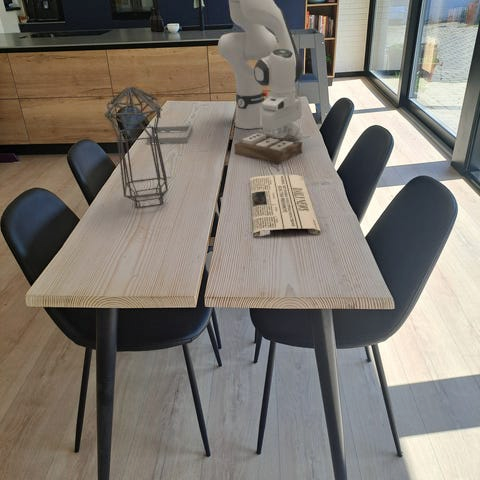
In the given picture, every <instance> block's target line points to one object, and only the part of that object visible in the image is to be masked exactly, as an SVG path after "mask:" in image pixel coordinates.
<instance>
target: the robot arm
mask: <svg viewBox="0 0 480 480" xmlns="http://www.w3.org/2000/svg"><path fill="white" fill-rule="evenodd" d="M228 6H229V12H230V13H229V14H230V18H231V20H232V22H233V23H234V24H235V25H236V26H239V27H240V28H241V29H242V30H243V32H239V31H238V32H229V33H225V34H222V35H221V36H220V38H219V39H218V44H217V50H218V53H219V55H220V57H221V58H222V59H223V60H225V61H226V62H227V63H228V64H229V65H230V68H231V69H232V71H233V74H234V76H235V77H234V78H235V86H236V93H235V100H236V103H237V104H236V105H235V118H234V120H233V121H234V126H235V127H236V128H239V129H243V130H244V129H246V130H249V129H250V130H252V129H263V131H264V132H268V133H273V132H275V131H276V132H278V133H279V134H278V133H277V134H278V138H283V137H285V136H287V131H288V128H289V124H290V123H292V122H294V121H295V122H296V121H297V120H300V119H301V117H302V115H303V114H302V113H303V112H302V111H303V109H302V101H301V100H300V99H301V98H300V95H299V94H297V93H296V86H295V83H297V82H298V81H299V80H300V78H301V77H302V76H303V73H304V69H305V67H304V66H305V65H304V62H303V59H302V58H301V55H300V54H299V52H298V49H297V47H296V44H295V40H294V37H293V35H292V33H291V29H290V26H289V24H288V23H289V22H288V21H287V18H286V16H285V13H284V11H283V10H282V9H281V8H280V7H278V6H277V4H276V3H275V1H274V0H228ZM267 28H268V29H269V30H271V31H272V32H273V33H274V34H273V33H272V32H271V31H269V30H268V29H267ZM278 46H279V47H278ZM249 61H256V63H255V65H254V68H253V67H252V66H251V65H250V63H249ZM262 86H263V87H268V86H270V90H269V91H270V93H268V91H263V90H262V88H263V87H262ZM265 97H266V99H265Z"/></svg>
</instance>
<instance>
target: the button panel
mask: <svg viewBox="0 0 480 480" xmlns="http://www.w3.org/2000/svg"><path fill="white" fill-rule="evenodd" d="M265 135H266V139H264V140H262V141H265V140H267V139H269V138H273V139H278V140H279V142H277V143H275V144H273V145H271V146H274V145H276V144H278V143H280V142H282V141H288V142H293V145H291V146H289V147H287V148H285V149H283V150H281V151H277V150H272V149H270V147H271V146H269V147H266V148H263V147H259V146H256V144H258V143H260V142H262V141H260V142H257V143H255V144H253V145H250V144H245V143H243V139H242V140H240V141H238V142H235V143H234V144H233V145H234V147H233V149H234V154H235V155H239V156H243V157H247V158H250V159H255V160H258V161H262V162H267V163H271V164H273V165H274V164H275V165H278V166H279V165H280V164H282V163H284V162H286V161H288V160H290V159H291V158H292V159H293V158H294V157H296V156H299V155H300V154H302V153H303V152H302V151H303V142H301V141H297V140H287V139H282V138H279V136H273V135H272V136H271V135H267V134H265Z"/></svg>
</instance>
